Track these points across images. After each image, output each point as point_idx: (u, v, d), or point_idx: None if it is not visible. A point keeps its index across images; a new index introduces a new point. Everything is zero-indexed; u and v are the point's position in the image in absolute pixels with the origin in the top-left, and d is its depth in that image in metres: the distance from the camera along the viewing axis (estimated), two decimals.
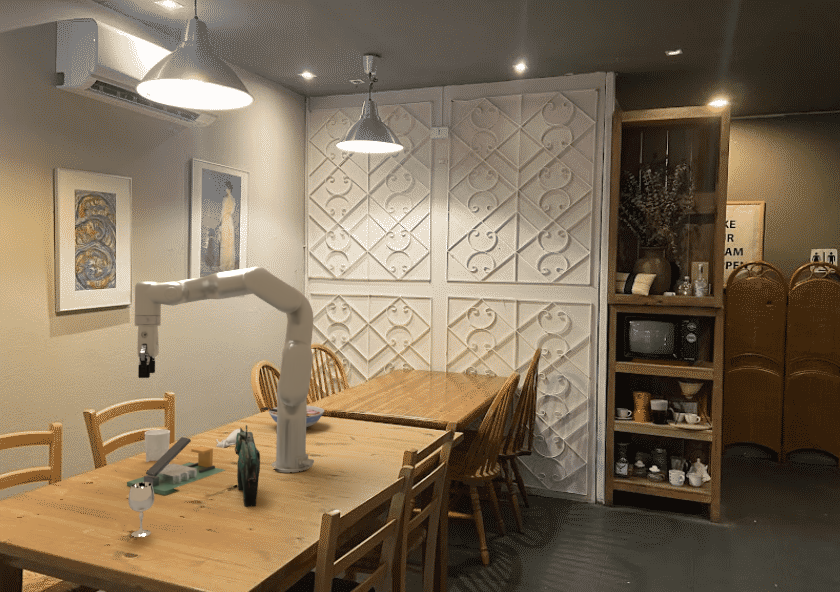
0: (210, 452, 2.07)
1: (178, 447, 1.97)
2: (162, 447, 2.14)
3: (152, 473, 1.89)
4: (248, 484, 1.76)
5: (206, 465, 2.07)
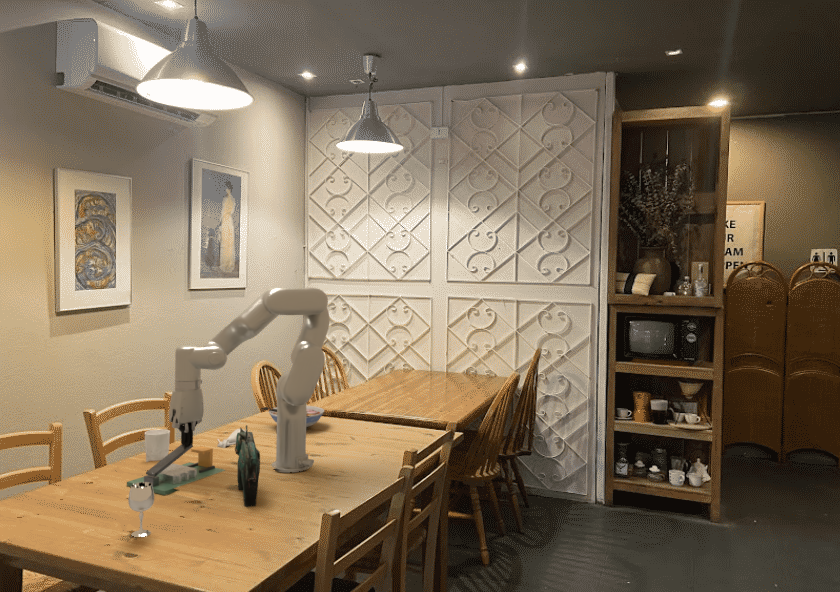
0: (210, 452, 2.07)
1: (180, 451, 1.98)
2: (162, 447, 2.14)
3: (152, 473, 1.89)
4: (248, 484, 1.76)
5: (206, 465, 2.07)
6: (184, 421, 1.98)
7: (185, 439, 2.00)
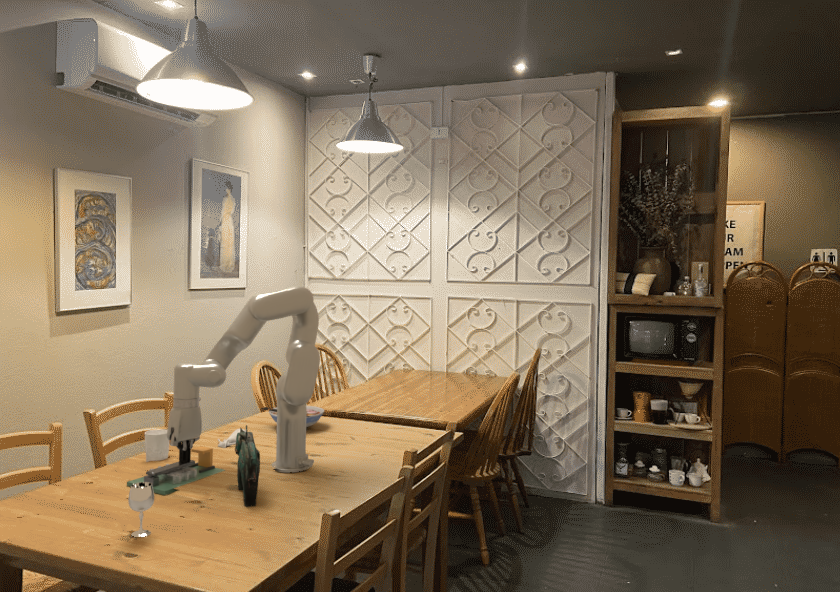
0: (210, 452, 2.07)
1: (182, 463, 1.99)
2: (162, 447, 2.14)
3: (153, 472, 1.89)
4: (248, 484, 1.76)
5: (206, 465, 2.07)
6: (182, 439, 1.97)
7: (183, 457, 1.99)
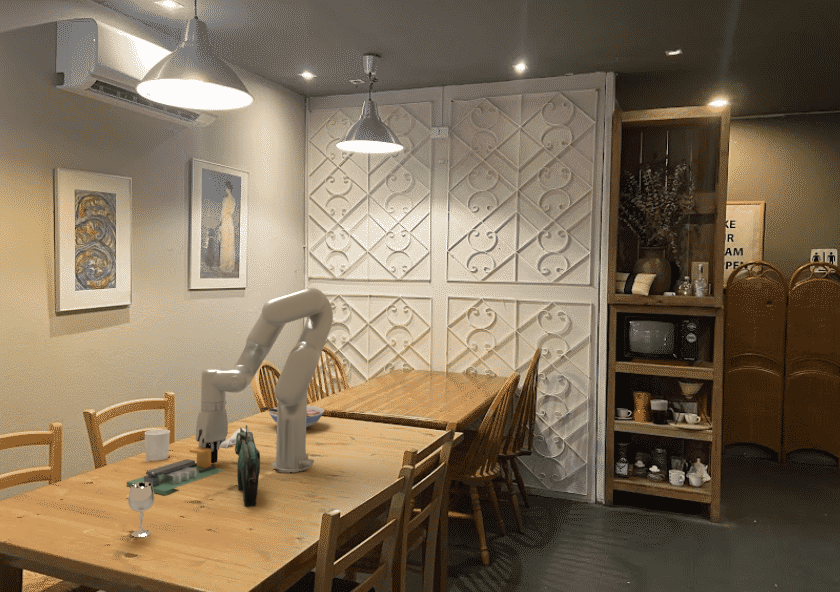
0: (209, 452, 2.06)
1: (182, 463, 1.99)
2: (162, 447, 2.14)
3: (153, 472, 1.89)
4: (248, 484, 1.76)
5: (204, 465, 2.07)
6: (210, 440, 2.07)
7: (211, 457, 2.09)
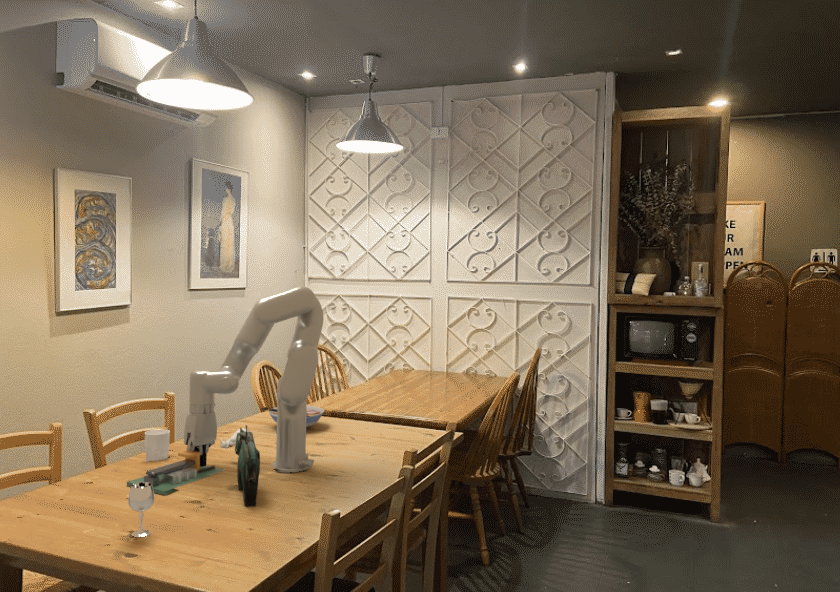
0: (197, 456, 2.02)
1: (182, 463, 1.99)
2: (162, 447, 2.14)
3: (153, 472, 1.89)
4: (248, 484, 1.76)
5: None
6: (198, 444, 2.03)
7: None
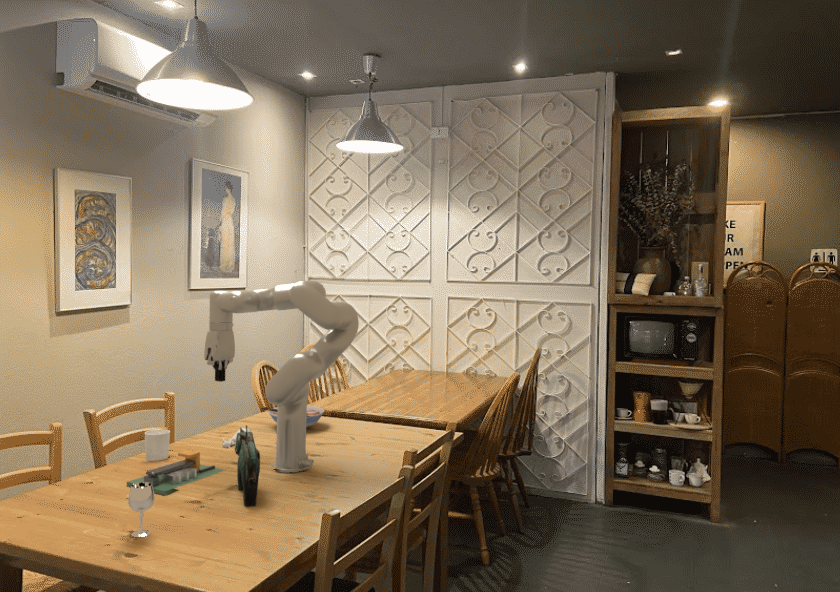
0: (197, 456, 2.02)
1: (182, 463, 1.99)
2: (162, 447, 2.14)
3: (153, 472, 1.89)
4: (248, 484, 1.76)
5: None
6: (218, 359, 2.16)
7: (219, 376, 2.18)
